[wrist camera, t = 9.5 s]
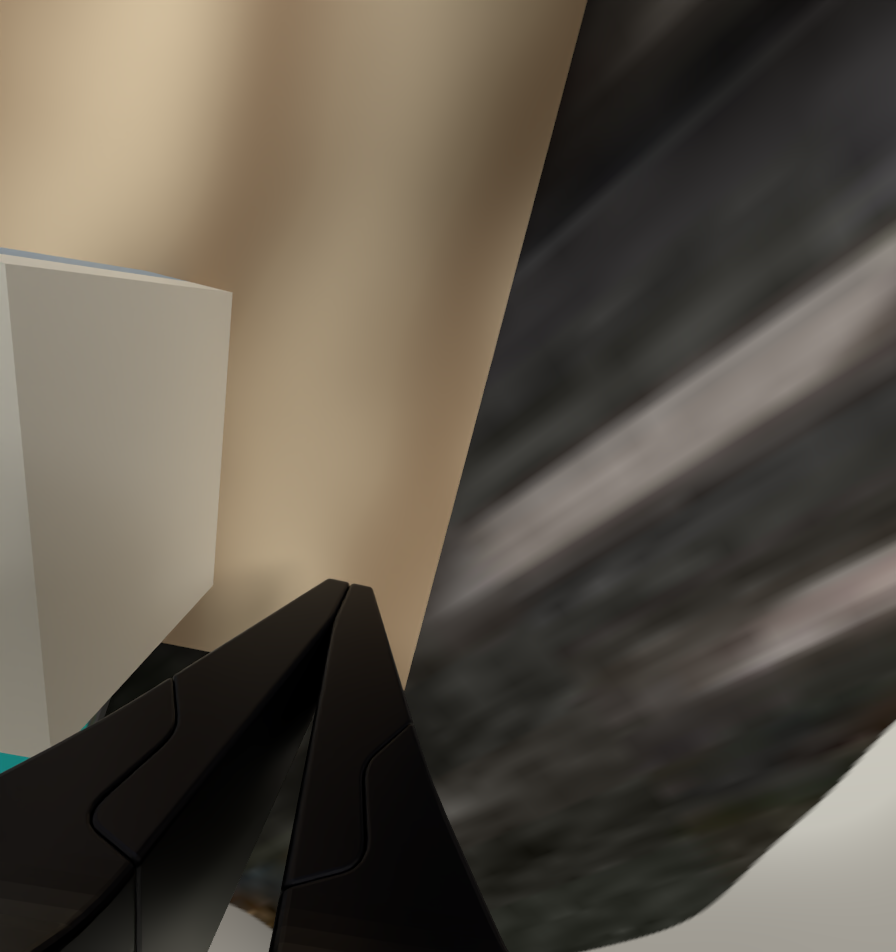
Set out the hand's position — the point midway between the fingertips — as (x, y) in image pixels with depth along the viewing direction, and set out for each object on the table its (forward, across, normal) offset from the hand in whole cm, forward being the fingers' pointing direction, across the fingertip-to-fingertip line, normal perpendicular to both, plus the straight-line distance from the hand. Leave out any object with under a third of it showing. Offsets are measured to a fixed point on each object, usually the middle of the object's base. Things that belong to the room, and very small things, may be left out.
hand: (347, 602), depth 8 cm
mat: (+6, +6, -4) cm, 9 cm away
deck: (+5, +6, 0) cm, 8 cm away
